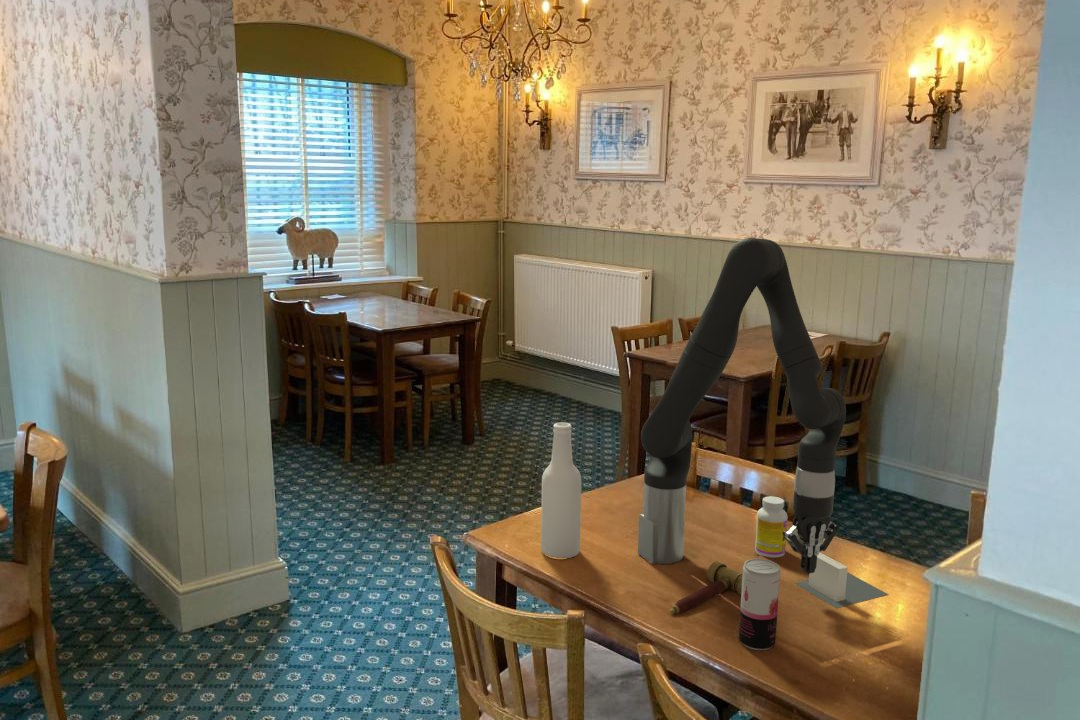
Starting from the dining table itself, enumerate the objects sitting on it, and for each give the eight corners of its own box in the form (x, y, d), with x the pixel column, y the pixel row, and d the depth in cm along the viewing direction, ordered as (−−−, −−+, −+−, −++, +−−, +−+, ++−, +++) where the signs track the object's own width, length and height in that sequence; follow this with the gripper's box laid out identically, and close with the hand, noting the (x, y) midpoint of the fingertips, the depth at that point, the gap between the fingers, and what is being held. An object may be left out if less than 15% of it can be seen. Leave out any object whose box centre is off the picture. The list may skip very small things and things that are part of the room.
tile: (836, 601, 177) (839, 569, 175) (808, 585, 184) (810, 553, 182) (845, 599, 178) (847, 567, 176) (816, 583, 185) (819, 551, 183)
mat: (836, 610, 174) (836, 608, 174) (794, 585, 185) (794, 583, 185) (888, 597, 180) (888, 594, 180) (845, 573, 191) (845, 571, 191)
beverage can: (781, 649, 160) (787, 572, 157) (747, 653, 159) (752, 575, 156) (765, 631, 166) (770, 556, 163) (732, 634, 165) (737, 559, 162)
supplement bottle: (785, 561, 197) (789, 506, 194) (755, 558, 198) (758, 504, 196) (783, 549, 203) (787, 495, 201) (754, 546, 205) (757, 493, 202)
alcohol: (587, 551, 201) (590, 423, 195) (563, 564, 194) (565, 432, 188) (557, 541, 206) (559, 416, 200) (533, 553, 200) (534, 424, 194)
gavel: (690, 611, 168) (651, 592, 175) (690, 632, 169) (651, 613, 176) (759, 574, 180) (720, 558, 188) (758, 594, 181) (720, 577, 189)
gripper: (826, 479, 180) (820, 558, 183) (774, 488, 174) (769, 570, 178) (853, 490, 173) (846, 573, 177) (800, 500, 168) (794, 585, 171)
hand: (807, 571), depth 177 cm, fingers closed
